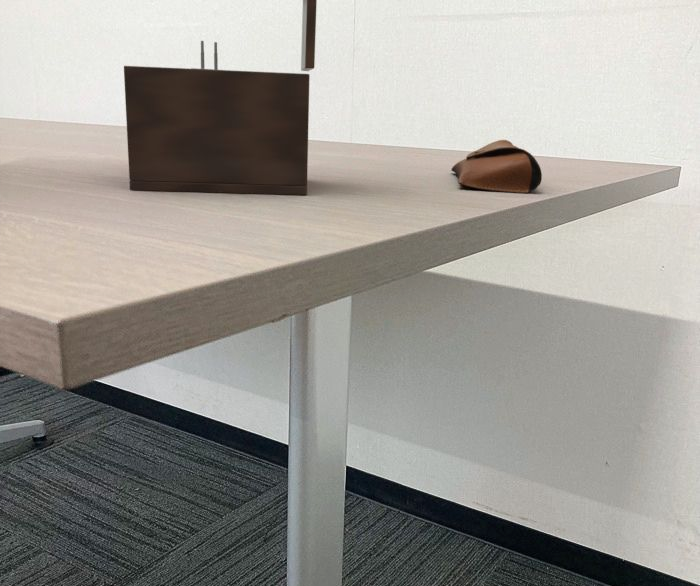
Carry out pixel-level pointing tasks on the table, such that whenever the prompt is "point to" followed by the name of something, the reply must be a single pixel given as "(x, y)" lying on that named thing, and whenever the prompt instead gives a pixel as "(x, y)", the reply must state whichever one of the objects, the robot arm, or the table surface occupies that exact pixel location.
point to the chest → (217, 130)
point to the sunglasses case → (499, 169)
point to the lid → (308, 35)
